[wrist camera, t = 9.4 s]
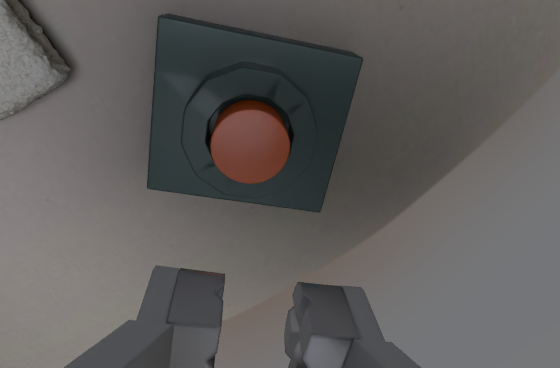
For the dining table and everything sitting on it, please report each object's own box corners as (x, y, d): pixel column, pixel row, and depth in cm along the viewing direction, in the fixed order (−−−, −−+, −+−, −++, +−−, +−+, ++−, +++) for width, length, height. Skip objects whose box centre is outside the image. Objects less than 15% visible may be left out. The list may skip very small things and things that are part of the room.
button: (293, 106, 19) (297, 117, 17) (278, 174, 20) (281, 189, 19) (218, 93, 18) (215, 102, 17) (208, 163, 20) (205, 178, 18)
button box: (353, 52, 21) (374, 63, 18) (314, 195, 25) (326, 229, 22) (166, 13, 20) (148, 17, 16) (154, 173, 24) (138, 205, 20)
